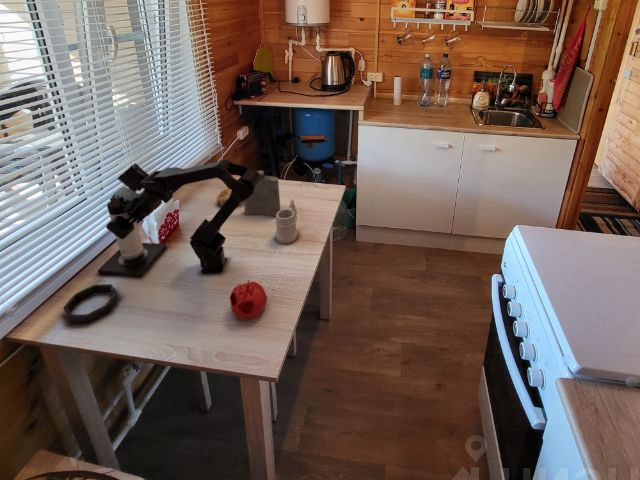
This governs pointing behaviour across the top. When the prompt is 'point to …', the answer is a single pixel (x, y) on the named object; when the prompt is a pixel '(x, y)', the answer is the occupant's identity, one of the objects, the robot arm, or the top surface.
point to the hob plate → (133, 262)
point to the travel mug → (132, 242)
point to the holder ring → (95, 314)
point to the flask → (264, 197)
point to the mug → (286, 224)
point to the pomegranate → (248, 300)
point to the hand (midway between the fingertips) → (122, 228)
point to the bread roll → (224, 197)
